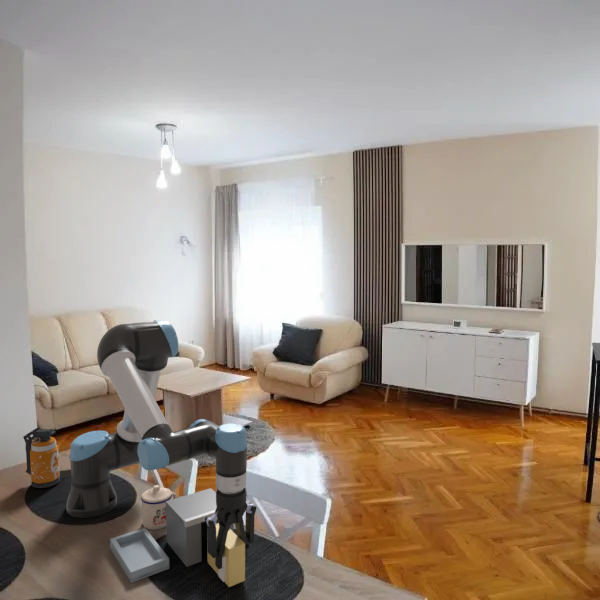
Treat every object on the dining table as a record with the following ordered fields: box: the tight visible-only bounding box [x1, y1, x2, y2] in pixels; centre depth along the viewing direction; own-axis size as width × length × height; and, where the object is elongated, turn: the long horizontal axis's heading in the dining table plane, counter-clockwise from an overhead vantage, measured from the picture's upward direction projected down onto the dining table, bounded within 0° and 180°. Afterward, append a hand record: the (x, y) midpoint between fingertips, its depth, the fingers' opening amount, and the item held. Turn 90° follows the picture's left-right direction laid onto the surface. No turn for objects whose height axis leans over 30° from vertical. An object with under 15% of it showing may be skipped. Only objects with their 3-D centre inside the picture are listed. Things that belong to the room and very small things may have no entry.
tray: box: [109, 527, 170, 583], centre depth 142 cm, size 18×10×3 cm, turn 36°
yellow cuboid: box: [206, 523, 246, 588], centre depth 135 cm, size 12×4×10 cm, turn 36°
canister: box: [22, 427, 61, 489], centre depth 183 cm, size 9×11×20 cm
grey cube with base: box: [165, 487, 235, 567], centre depth 147 cm, size 14×14×13 cm
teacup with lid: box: [140, 484, 178, 531], centre depth 160 cm, size 12×9×12 cm
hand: (231, 574), depth 133 cm, fingers closed on yellow cuboid, 4 cm apart
